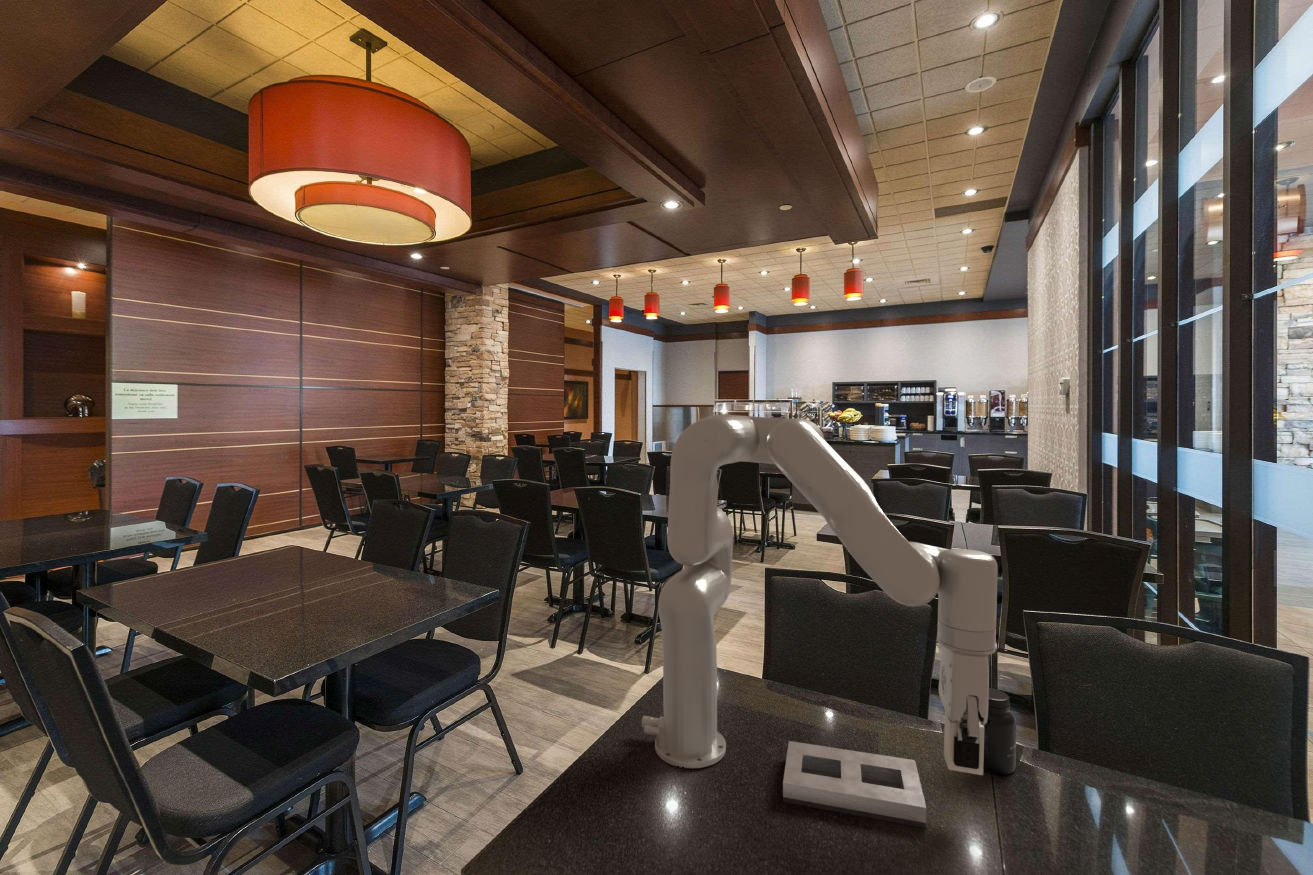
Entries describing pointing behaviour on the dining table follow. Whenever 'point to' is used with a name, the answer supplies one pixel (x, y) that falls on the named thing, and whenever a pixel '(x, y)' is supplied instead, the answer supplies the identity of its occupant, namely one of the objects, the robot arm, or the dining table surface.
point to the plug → (949, 747)
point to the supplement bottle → (999, 735)
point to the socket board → (854, 783)
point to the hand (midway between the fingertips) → (962, 756)
